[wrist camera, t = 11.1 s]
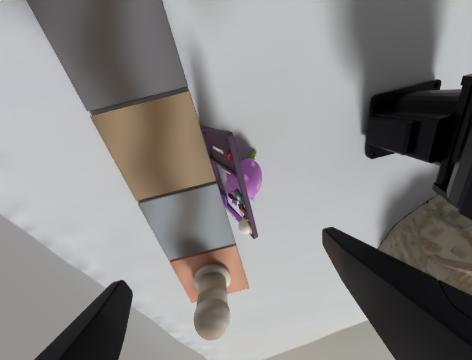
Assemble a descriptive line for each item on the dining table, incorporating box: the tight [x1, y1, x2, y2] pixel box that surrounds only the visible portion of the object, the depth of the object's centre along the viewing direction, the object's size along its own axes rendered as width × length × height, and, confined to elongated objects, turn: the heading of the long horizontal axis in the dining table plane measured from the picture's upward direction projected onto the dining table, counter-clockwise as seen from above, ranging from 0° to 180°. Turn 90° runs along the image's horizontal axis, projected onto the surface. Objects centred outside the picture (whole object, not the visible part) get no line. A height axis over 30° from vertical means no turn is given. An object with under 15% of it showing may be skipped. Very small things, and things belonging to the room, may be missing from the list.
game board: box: [27, 0, 249, 303], centre depth 19 cm, size 9×36×1 cm, turn 13°
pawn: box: [194, 264, 231, 340], centre depth 22 cm, size 5×5×7 cm
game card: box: [201, 127, 262, 239], centre depth 17 cm, size 7×5×9 cm
